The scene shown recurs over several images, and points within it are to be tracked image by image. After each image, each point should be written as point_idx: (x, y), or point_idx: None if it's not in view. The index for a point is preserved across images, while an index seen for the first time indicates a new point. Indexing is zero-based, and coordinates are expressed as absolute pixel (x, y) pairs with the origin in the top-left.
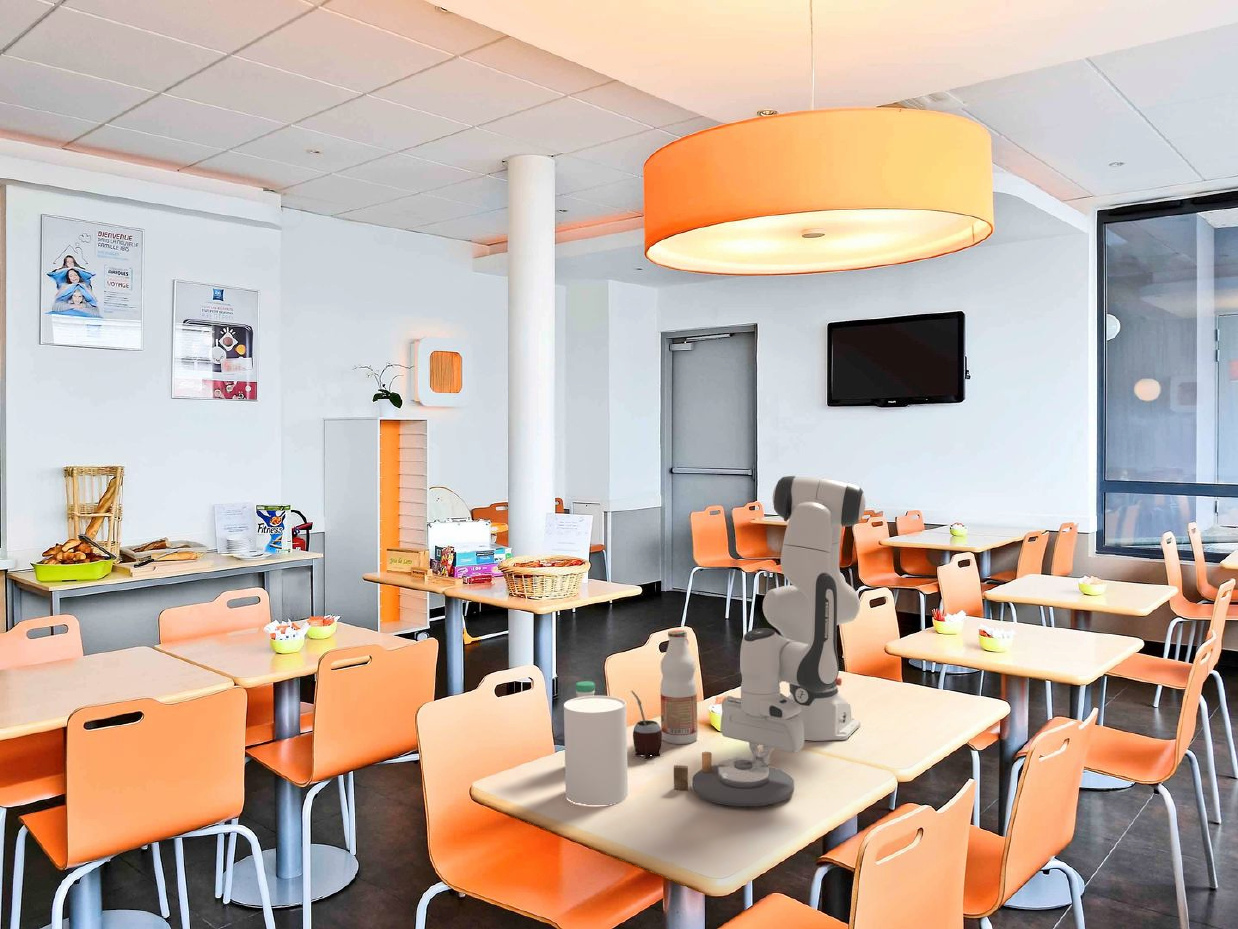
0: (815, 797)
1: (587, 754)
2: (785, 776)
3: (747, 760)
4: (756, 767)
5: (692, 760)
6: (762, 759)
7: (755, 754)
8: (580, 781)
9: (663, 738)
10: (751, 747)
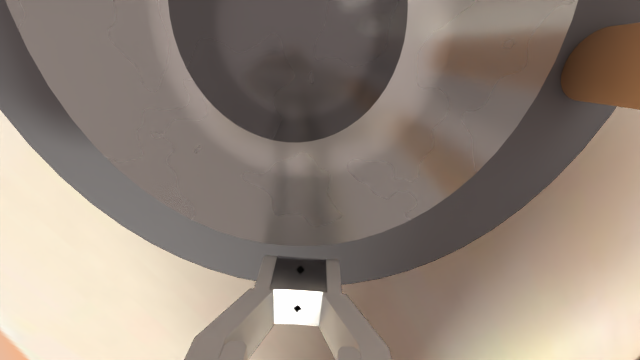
0: (28, 170)
1: None
2: (157, 225)
3: (289, 134)
4: (171, 87)
5: (633, 256)
6: (276, 277)
7: (328, 299)
8: None
9: None
10: (366, 346)
